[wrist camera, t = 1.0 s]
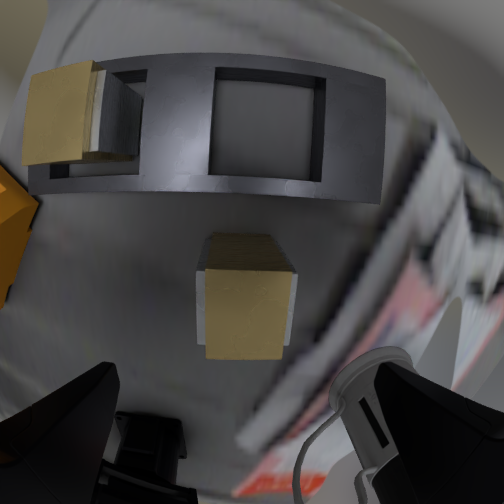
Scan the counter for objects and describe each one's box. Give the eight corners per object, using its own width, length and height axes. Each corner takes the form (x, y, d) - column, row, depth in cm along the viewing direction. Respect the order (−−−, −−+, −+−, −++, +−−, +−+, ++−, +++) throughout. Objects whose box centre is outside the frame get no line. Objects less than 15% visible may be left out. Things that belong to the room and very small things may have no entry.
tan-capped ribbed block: (138, 160, 17) (90, 158, 10) (79, 164, 17) (15, 167, 10) (144, 93, 16) (101, 58, 9) (83, 100, 15) (25, 77, 9)
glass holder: (389, 412, 25) (449, 516, 11) (260, 418, 23) (284, 567, 9) (425, 345, 23) (519, 450, 9) (283, 341, 21) (341, 529, 7)
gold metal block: (271, 298, 20) (290, 359, 13) (205, 297, 20) (196, 358, 13) (276, 235, 19) (303, 271, 12) (206, 232, 19) (194, 268, 12)
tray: (362, 199, 19) (379, 204, 16) (48, 191, 17) (28, 195, 14) (368, 87, 17) (385, 79, 14) (55, 83, 15) (37, 76, 12)
